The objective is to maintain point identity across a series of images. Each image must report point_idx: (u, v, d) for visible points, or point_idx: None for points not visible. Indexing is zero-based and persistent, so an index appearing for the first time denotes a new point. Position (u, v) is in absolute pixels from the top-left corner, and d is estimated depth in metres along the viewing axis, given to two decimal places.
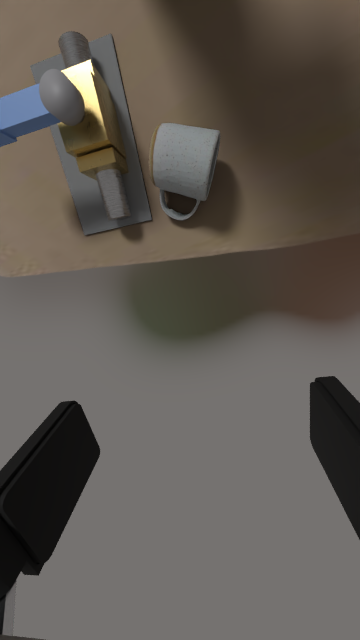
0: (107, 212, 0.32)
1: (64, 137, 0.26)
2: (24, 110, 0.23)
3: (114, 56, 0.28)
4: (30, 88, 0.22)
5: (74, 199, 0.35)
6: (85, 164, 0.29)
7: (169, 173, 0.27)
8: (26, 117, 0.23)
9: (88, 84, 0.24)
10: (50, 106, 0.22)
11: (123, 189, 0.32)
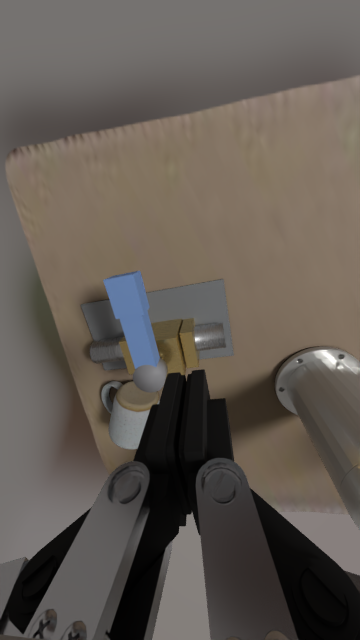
0: (95, 348, 0.33)
1: None
2: (136, 347, 0.23)
3: (219, 355, 0.34)
4: (152, 357, 0.23)
5: None
6: (125, 348, 0.29)
7: (116, 416, 0.33)
8: (131, 347, 0.23)
9: None
10: (139, 371, 0.24)
11: None
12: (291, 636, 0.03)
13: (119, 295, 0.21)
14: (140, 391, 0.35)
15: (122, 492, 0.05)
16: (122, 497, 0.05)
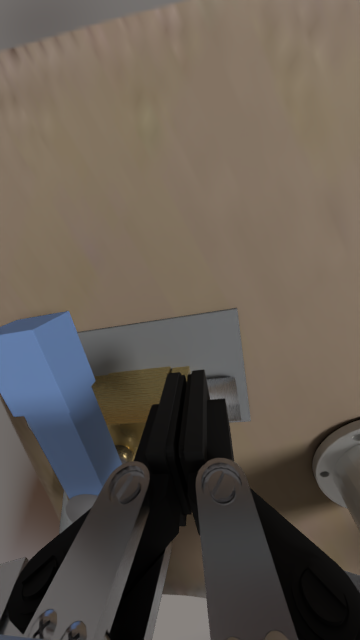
0: None
1: None
2: (65, 465, 0.11)
3: None
4: (99, 484, 0.11)
5: None
6: None
7: (65, 518, 0.21)
8: (55, 465, 0.11)
9: None
10: (78, 502, 0.12)
11: None
12: (291, 636, 0.03)
13: (11, 372, 0.09)
14: None
15: (122, 492, 0.05)
16: (122, 497, 0.05)
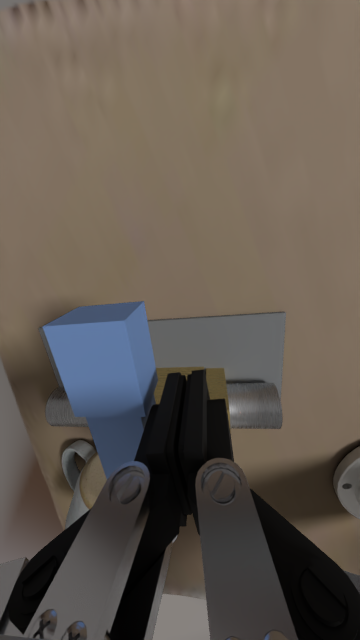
0: (55, 405, 0.19)
1: None
2: None
3: None
4: None
5: None
6: None
7: (76, 517, 0.20)
8: (109, 471, 0.10)
9: None
10: None
11: None
12: (290, 636, 0.03)
13: (85, 368, 0.08)
14: None
15: (122, 492, 0.05)
16: (122, 497, 0.05)
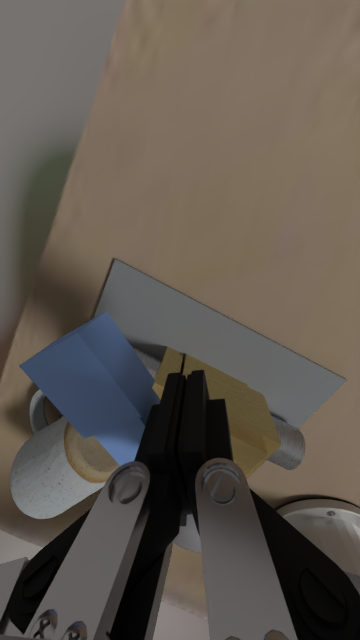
0: None
1: None
2: None
3: None
4: None
5: (175, 293, 0.18)
6: None
7: (45, 465, 0.17)
8: None
9: None
10: None
11: None
12: (290, 636, 0.03)
13: (69, 389, 0.08)
14: None
15: (123, 492, 0.05)
16: (123, 497, 0.05)
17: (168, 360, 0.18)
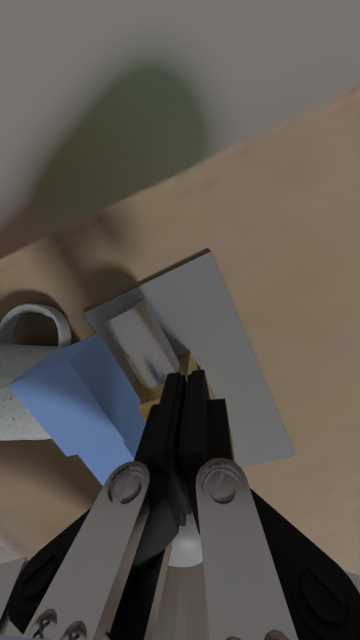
0: (138, 321, 0.15)
1: None
2: None
3: None
4: None
5: (234, 316, 0.18)
6: None
7: (7, 392, 0.15)
8: None
9: None
10: None
11: None
12: (291, 636, 0.03)
13: (56, 411, 0.09)
14: None
15: (122, 492, 0.05)
16: (122, 497, 0.05)
17: (191, 368, 0.17)
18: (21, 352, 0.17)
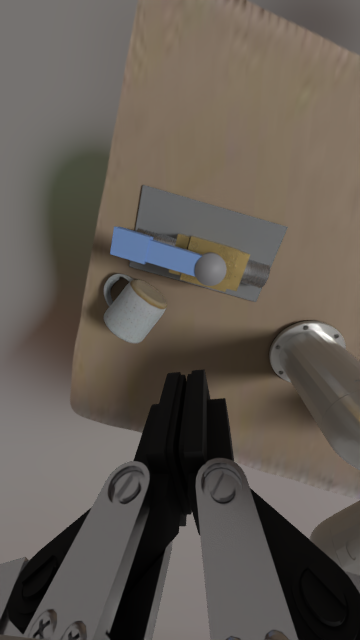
0: None
1: (201, 242, 0.27)
2: (175, 263, 0.25)
3: (244, 297, 0.36)
4: (191, 254, 0.24)
5: (178, 197, 0.32)
6: (180, 243, 0.29)
7: (124, 301, 0.32)
8: (174, 267, 0.25)
9: (218, 285, 0.29)
10: (199, 274, 0.25)
11: None
12: (291, 636, 0.03)
13: (126, 248, 0.24)
14: (152, 292, 0.34)
15: (122, 492, 0.05)
16: (122, 497, 0.05)
17: (182, 234, 0.32)
18: None
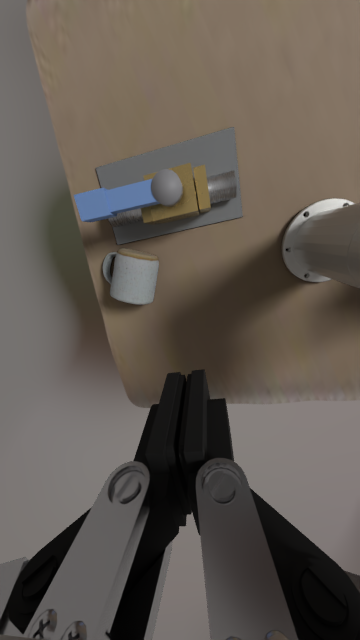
0: None
1: (154, 175, 0.29)
2: (135, 198, 0.26)
3: (229, 218, 0.36)
4: (143, 182, 0.26)
5: (127, 160, 0.34)
6: None
7: (117, 268, 0.34)
8: (135, 203, 0.27)
9: (189, 207, 0.30)
10: (159, 196, 0.26)
11: (133, 222, 0.35)
12: (291, 636, 0.03)
13: (91, 208, 0.27)
14: (140, 253, 0.36)
15: (122, 492, 0.05)
16: (122, 497, 0.05)
17: None
18: None
